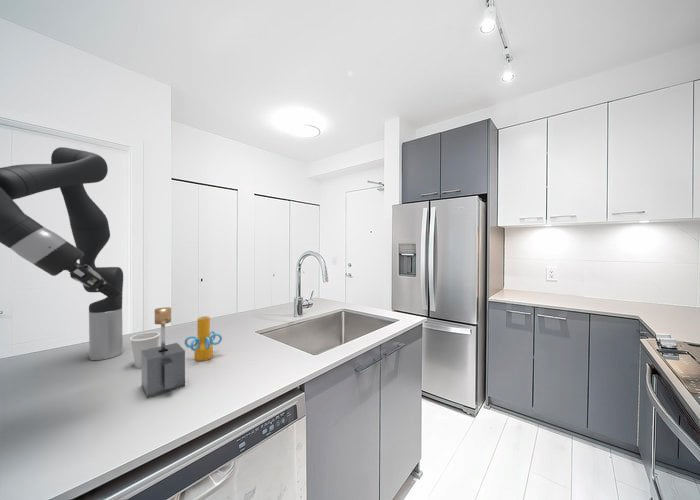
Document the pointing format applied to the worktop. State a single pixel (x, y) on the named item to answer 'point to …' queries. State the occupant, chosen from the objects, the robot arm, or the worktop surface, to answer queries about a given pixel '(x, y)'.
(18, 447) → the worktop surface
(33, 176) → the robot arm
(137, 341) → the dixie cup
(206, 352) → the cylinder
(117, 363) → the worktop surface
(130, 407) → the worktop surface
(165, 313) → the plunger
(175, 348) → the frame
